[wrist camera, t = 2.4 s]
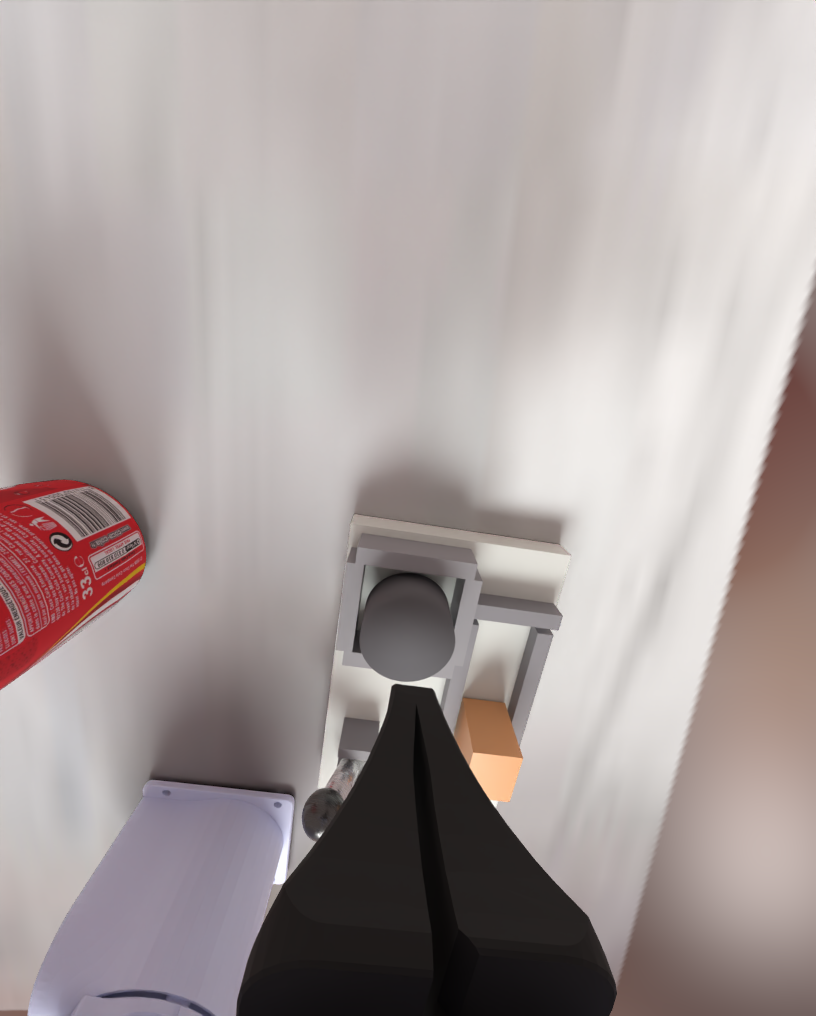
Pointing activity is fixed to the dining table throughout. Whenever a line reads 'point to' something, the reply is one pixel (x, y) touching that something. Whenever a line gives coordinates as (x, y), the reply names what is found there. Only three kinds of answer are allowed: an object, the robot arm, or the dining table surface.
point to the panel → (475, 616)
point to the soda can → (60, 566)
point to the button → (407, 628)
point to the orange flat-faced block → (489, 746)
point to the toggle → (330, 798)
